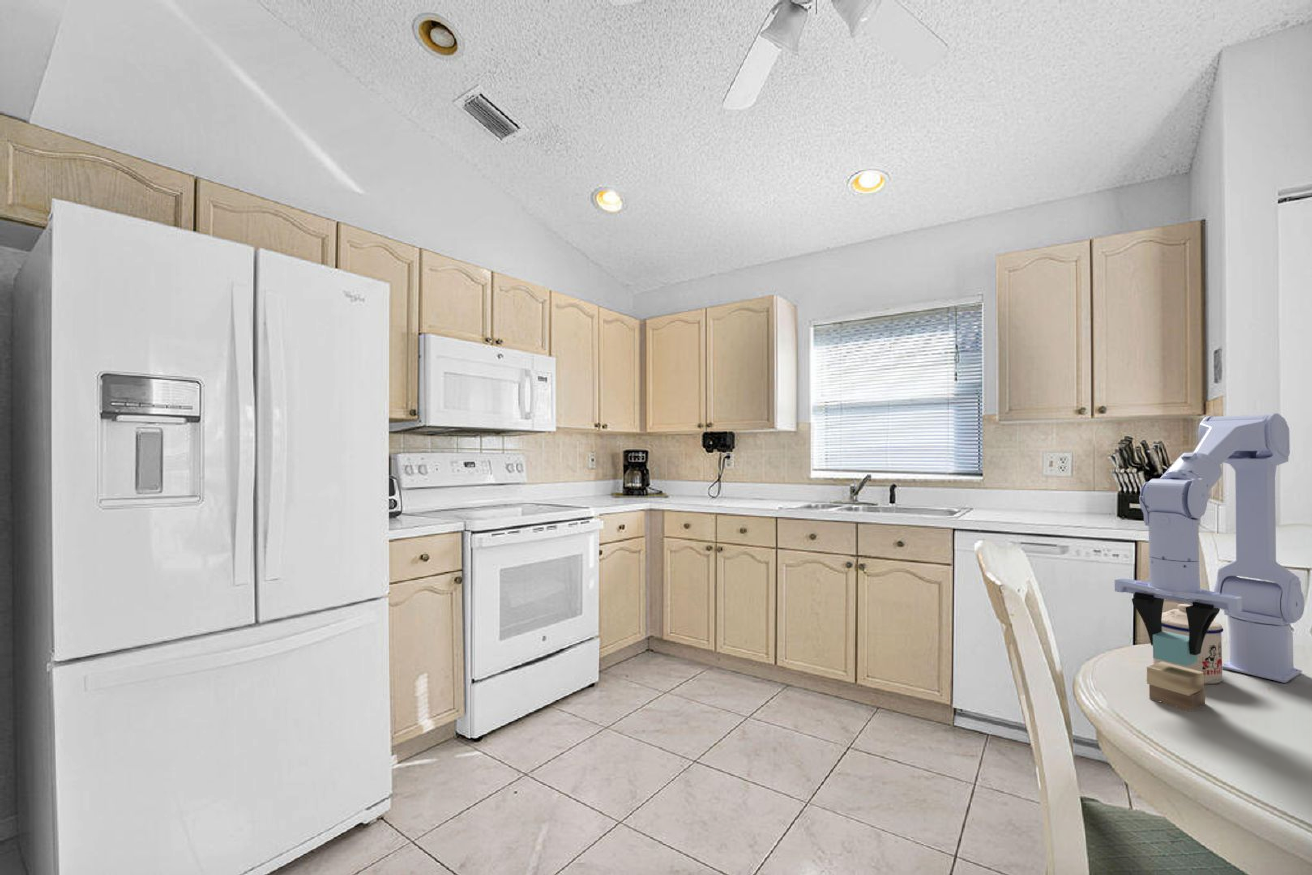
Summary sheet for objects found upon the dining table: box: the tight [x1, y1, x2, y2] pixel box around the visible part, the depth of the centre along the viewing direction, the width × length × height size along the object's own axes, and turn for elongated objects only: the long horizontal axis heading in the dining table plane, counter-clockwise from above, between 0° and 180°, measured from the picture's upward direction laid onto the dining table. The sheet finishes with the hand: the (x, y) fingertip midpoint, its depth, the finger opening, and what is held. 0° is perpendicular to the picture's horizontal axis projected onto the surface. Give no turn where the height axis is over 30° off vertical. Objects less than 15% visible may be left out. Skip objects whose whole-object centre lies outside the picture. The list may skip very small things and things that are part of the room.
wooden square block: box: [1148, 684, 1206, 712], centre depth 88 cm, size 5×5×2 cm
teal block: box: [1152, 631, 1198, 666], centre depth 89 cm, size 4×4×4 cm
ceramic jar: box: [1152, 603, 1224, 685], centre depth 100 cm, size 12×9×12 cm
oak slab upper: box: [1146, 662, 1205, 696], centre depth 89 cm, size 5×5×2 cm
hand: (1175, 649), depth 89 cm, fingers closed on teal block, 4 cm apart
